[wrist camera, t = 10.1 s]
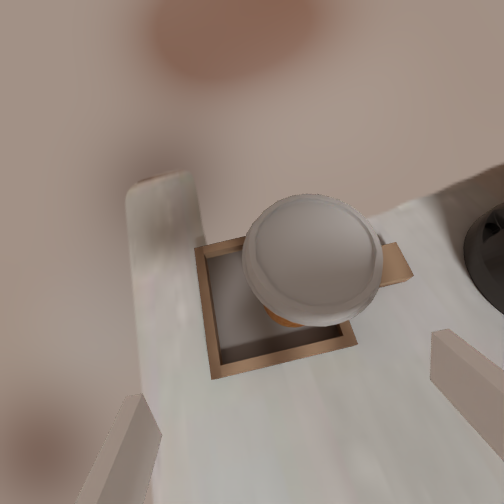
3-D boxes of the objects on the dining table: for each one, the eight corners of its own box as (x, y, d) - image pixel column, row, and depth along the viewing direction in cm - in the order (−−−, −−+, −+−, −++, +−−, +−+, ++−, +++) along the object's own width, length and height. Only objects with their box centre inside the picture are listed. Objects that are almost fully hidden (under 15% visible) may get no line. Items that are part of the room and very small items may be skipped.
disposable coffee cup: (245, 258, 29) (240, 190, 18) (328, 255, 29) (371, 186, 18) (247, 346, 25) (241, 325, 14) (344, 343, 25) (411, 319, 14)
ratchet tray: (371, 214, 31) (378, 202, 29) (429, 327, 25) (443, 323, 23) (199, 255, 31) (193, 246, 29) (216, 379, 25) (210, 379, 23)
